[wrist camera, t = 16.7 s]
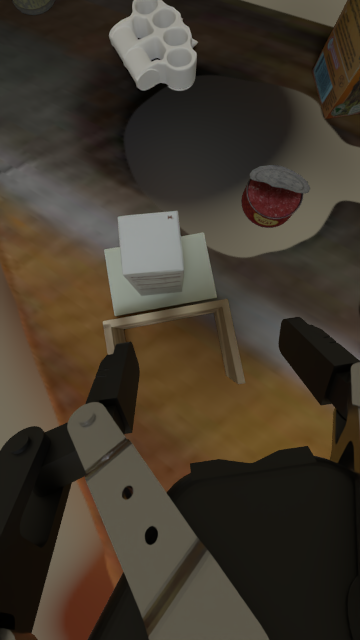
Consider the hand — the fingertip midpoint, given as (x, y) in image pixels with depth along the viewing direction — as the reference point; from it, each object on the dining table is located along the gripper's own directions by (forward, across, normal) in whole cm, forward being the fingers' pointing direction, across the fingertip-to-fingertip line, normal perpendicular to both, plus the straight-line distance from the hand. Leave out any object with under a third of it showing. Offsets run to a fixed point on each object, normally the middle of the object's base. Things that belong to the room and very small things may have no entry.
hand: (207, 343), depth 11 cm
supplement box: (+27, +4, +5) cm, 28 cm away
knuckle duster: (+54, -2, -31) cm, 62 cm away
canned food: (+34, -18, -4) cm, 39 cm away
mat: (+27, +4, +5) cm, 28 cm away
